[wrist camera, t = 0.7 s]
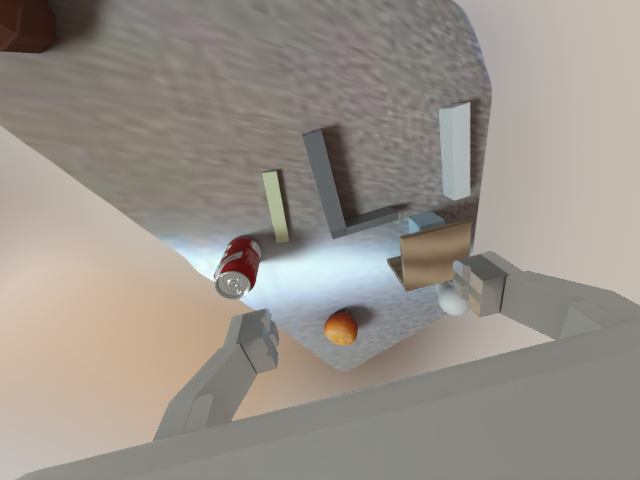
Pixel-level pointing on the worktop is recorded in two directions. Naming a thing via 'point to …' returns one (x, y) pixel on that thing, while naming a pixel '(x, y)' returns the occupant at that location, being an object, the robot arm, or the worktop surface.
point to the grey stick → (455, 150)
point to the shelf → (431, 254)
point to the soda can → (238, 268)
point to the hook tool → (330, 196)
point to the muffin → (26, 26)
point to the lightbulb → (450, 299)
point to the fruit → (341, 328)
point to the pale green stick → (276, 205)
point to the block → (424, 222)
